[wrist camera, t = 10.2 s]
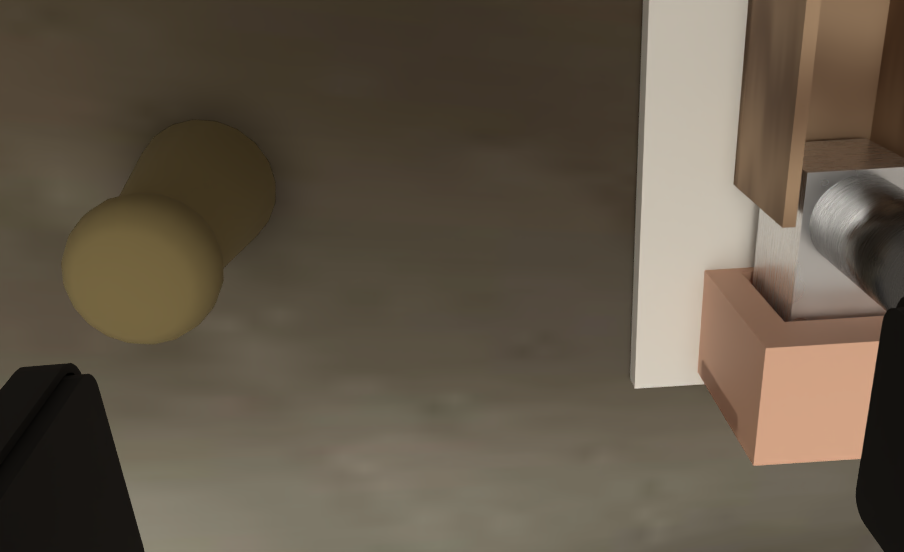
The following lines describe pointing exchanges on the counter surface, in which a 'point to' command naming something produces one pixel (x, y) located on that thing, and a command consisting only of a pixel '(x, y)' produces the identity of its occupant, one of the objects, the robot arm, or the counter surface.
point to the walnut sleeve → (815, 89)
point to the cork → (169, 233)
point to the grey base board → (686, 180)
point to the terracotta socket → (785, 374)
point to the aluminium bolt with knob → (837, 236)
